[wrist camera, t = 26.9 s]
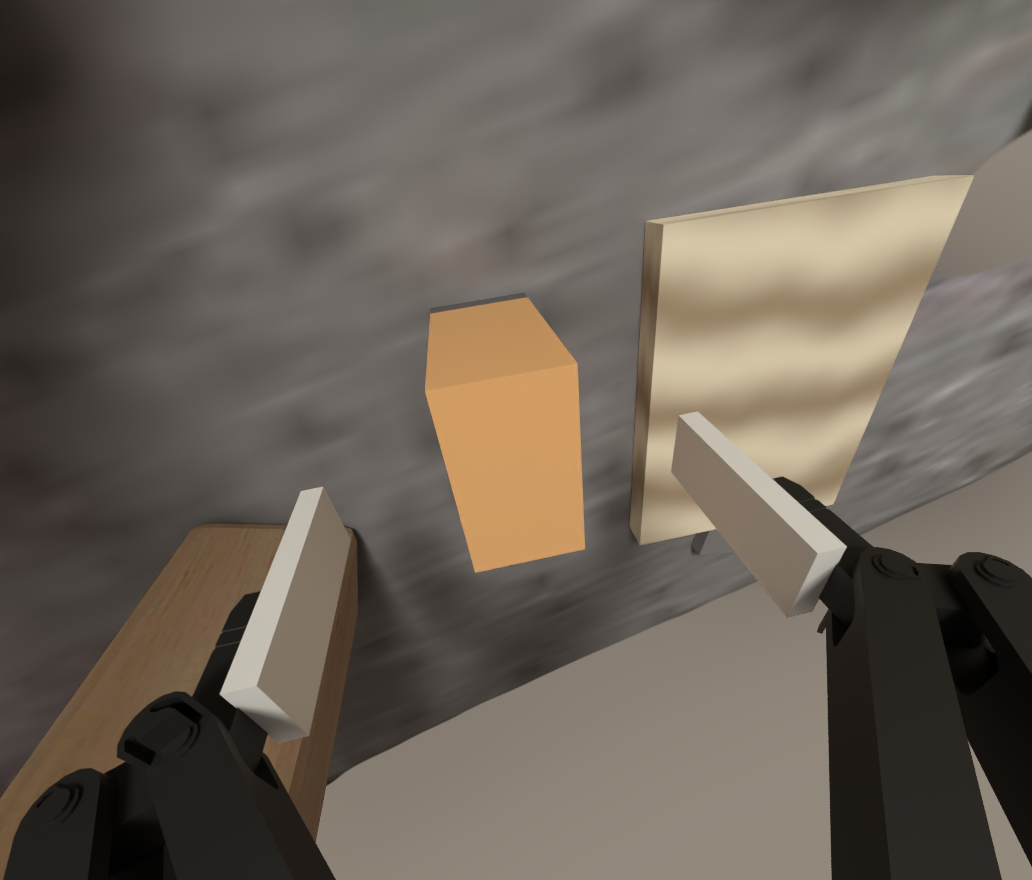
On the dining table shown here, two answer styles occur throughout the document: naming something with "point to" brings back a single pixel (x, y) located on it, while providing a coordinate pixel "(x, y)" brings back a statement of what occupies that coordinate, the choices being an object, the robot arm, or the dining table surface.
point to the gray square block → (710, 543)
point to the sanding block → (507, 429)
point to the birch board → (778, 332)
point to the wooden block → (188, 670)
